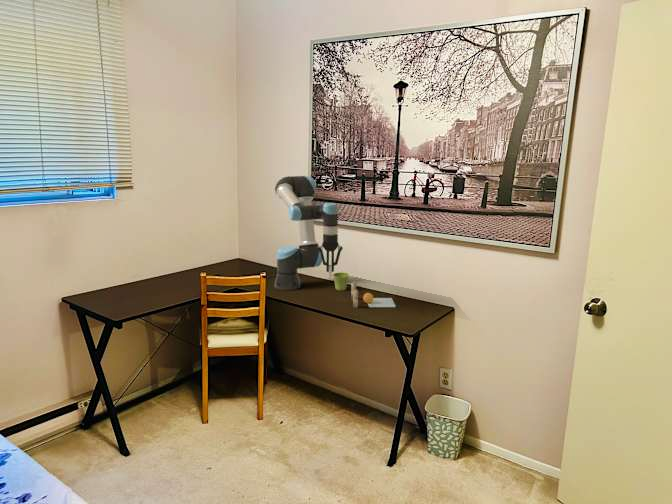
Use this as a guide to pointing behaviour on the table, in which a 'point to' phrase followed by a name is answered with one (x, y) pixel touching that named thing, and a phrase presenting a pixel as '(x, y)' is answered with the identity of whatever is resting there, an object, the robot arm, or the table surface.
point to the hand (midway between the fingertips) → (330, 277)
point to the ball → (368, 297)
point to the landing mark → (382, 302)
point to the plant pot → (340, 280)
